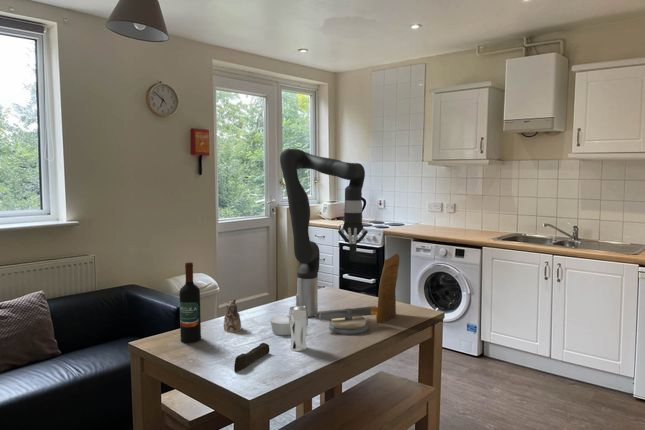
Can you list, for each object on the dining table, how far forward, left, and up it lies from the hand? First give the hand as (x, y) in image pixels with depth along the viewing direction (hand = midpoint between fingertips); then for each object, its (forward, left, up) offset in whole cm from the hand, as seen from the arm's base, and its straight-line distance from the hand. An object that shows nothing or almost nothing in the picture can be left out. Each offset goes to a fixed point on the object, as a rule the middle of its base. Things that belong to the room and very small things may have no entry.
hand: (352, 252), depth 202 cm
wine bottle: (-59, -30, -31) cm, 73 cm away
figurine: (-48, -15, -31) cm, 59 cm away
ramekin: (-26, -14, -31) cm, 43 cm away
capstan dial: (-1, -5, -29) cm, 30 cm away
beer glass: (-16, -31, -31) cm, 47 cm away
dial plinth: (-1, -5, -31) cm, 31 cm away
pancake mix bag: (+14, +12, -31) cm, 36 cm away
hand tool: (-28, -46, -32) cm, 63 cm away
